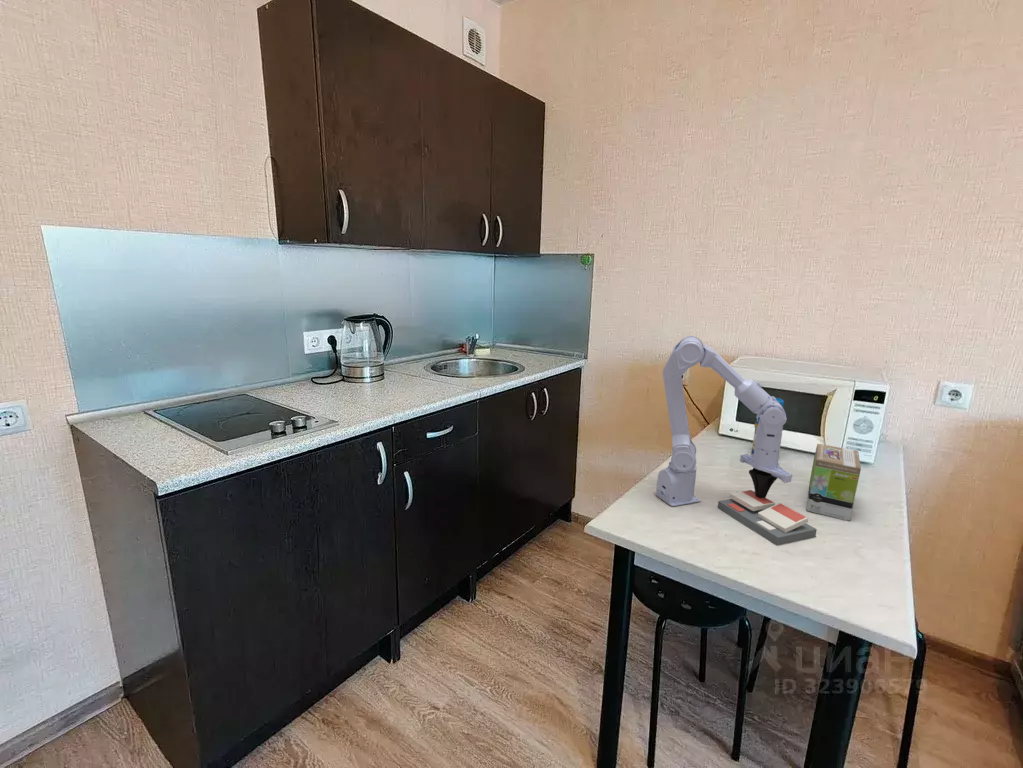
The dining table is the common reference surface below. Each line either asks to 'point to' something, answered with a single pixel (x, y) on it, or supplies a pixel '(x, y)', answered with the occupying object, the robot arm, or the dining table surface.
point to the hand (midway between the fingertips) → (760, 497)
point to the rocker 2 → (782, 517)
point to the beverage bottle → (758, 422)
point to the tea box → (833, 481)
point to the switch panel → (764, 524)
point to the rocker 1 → (751, 500)
